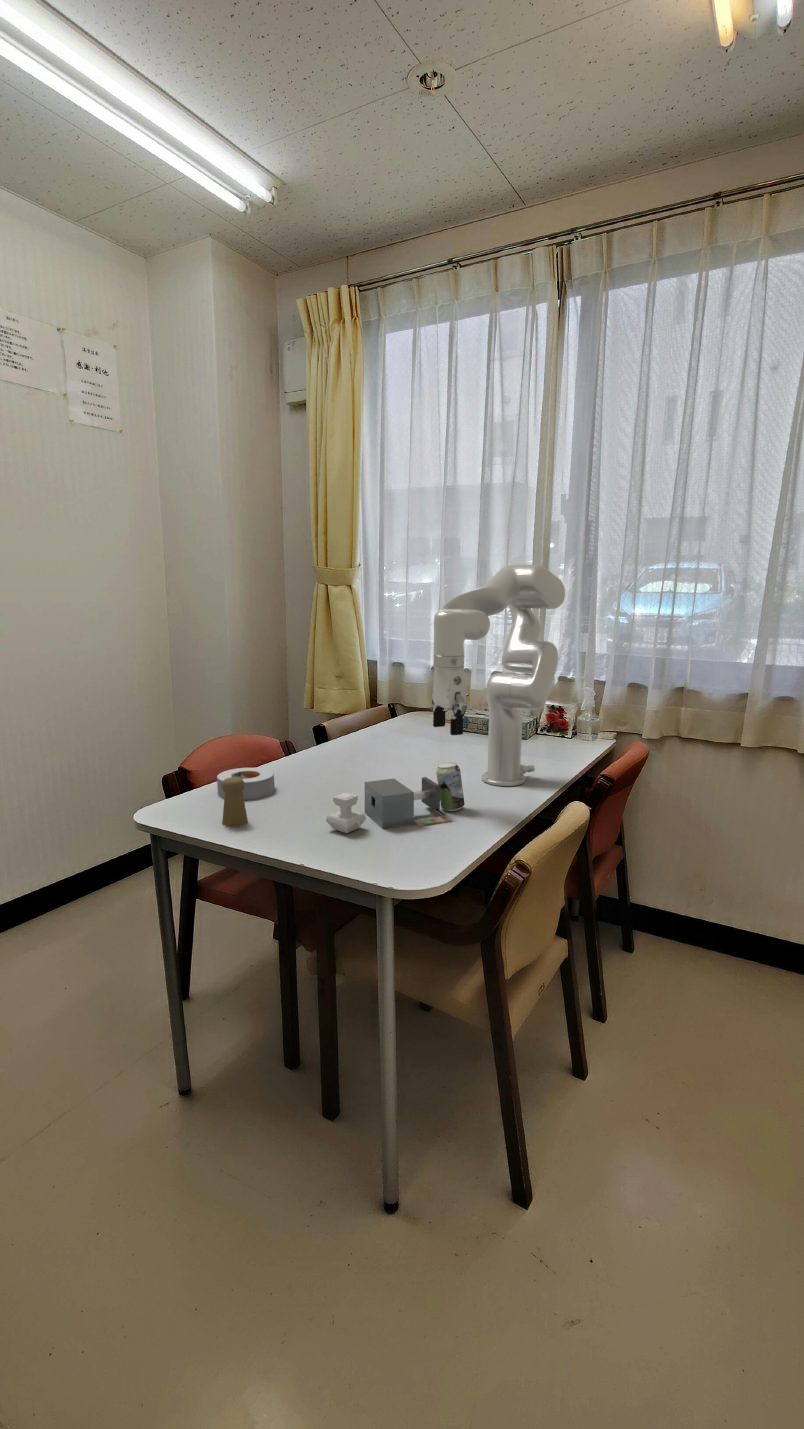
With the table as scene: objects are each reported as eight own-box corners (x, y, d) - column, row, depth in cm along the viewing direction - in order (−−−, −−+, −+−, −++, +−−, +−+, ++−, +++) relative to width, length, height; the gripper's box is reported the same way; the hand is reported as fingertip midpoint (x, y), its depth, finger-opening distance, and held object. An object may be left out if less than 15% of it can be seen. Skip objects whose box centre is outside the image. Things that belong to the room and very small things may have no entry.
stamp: (370, 829, 153) (369, 795, 152) (351, 838, 148) (351, 803, 147) (341, 821, 159) (340, 788, 157) (322, 829, 153) (321, 795, 152)
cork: (234, 828, 154) (232, 783, 152) (216, 823, 157) (214, 779, 155) (253, 820, 159) (251, 777, 157) (235, 816, 162) (233, 773, 160)
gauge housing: (394, 808, 168) (394, 778, 166) (413, 824, 157) (413, 792, 155) (364, 812, 165) (364, 782, 163) (382, 829, 154) (382, 796, 152)
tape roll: (233, 782, 190) (232, 765, 189) (283, 785, 187) (282, 768, 186) (207, 798, 175) (206, 780, 174) (261, 802, 172) (260, 784, 171)
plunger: (425, 800, 169) (426, 777, 168) (445, 814, 159) (446, 789, 157) (393, 805, 165) (393, 781, 164) (412, 820, 155) (412, 794, 154)
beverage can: (463, 814, 164) (464, 768, 161) (433, 812, 165) (434, 766, 163) (465, 806, 170) (466, 761, 167) (437, 804, 171) (438, 759, 169)
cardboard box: (445, 817, 161) (445, 815, 161) (450, 821, 159) (450, 819, 159) (413, 822, 158) (413, 820, 158) (419, 826, 155) (419, 824, 155)
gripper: (479, 665, 154) (477, 736, 157) (446, 657, 170) (445, 722, 173) (450, 667, 151) (449, 739, 155) (420, 659, 167) (419, 724, 170)
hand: (447, 730), depth 164 cm, fingers open, 9 cm apart
